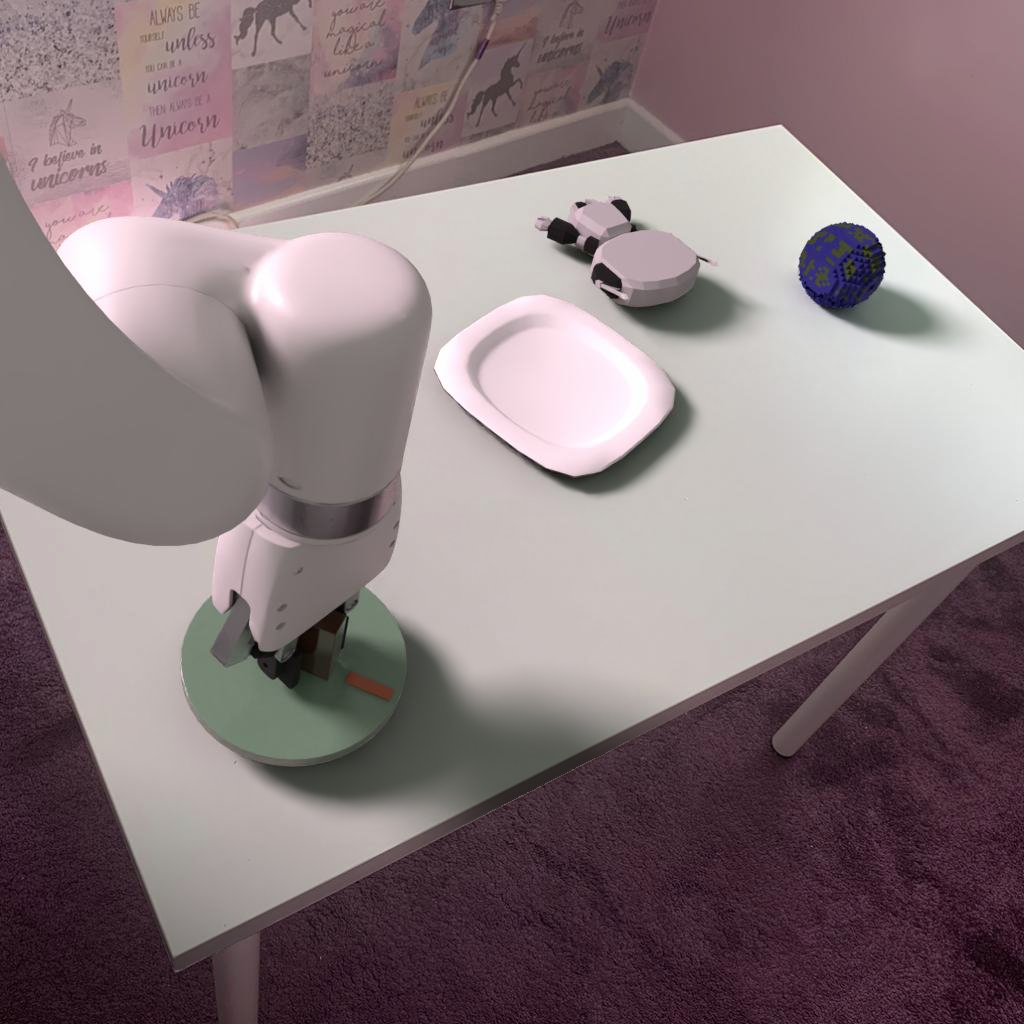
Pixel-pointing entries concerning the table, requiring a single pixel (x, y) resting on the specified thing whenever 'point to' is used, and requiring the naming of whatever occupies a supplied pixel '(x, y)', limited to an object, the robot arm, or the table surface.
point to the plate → (556, 384)
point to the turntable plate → (299, 687)
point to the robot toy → (626, 253)
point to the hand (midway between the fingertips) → (300, 652)
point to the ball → (842, 265)
